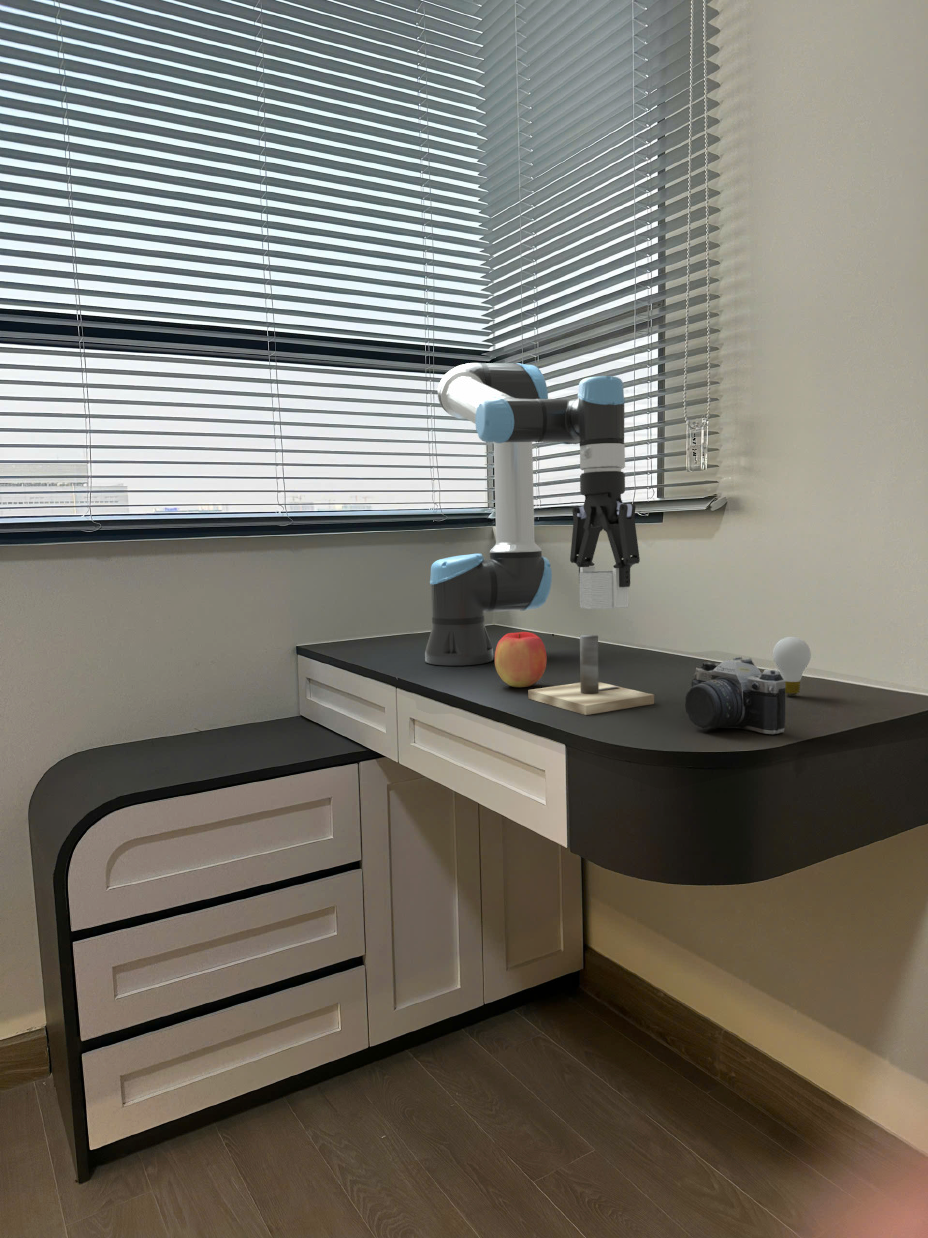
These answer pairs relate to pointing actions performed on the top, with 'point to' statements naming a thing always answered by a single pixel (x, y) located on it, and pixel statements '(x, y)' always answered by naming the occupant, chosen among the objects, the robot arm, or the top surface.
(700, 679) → the camera
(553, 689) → the shaft stand
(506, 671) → the apple
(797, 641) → the light bulb
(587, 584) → the hub
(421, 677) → the top surface
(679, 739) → the top surface
